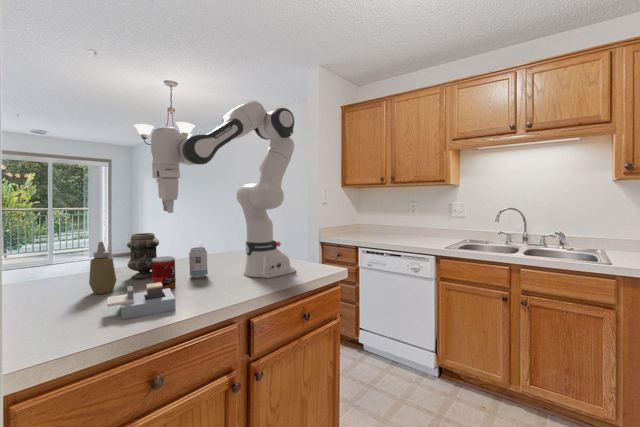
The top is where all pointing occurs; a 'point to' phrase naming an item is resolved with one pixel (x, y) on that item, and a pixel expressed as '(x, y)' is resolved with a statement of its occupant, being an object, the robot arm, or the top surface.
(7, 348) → the top surface
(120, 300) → the panel
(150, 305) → the socket block
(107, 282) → the squeeze bottle
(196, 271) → the beverage can
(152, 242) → the apothecary jar
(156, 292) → the plug
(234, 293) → the top surface
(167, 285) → the canned food
